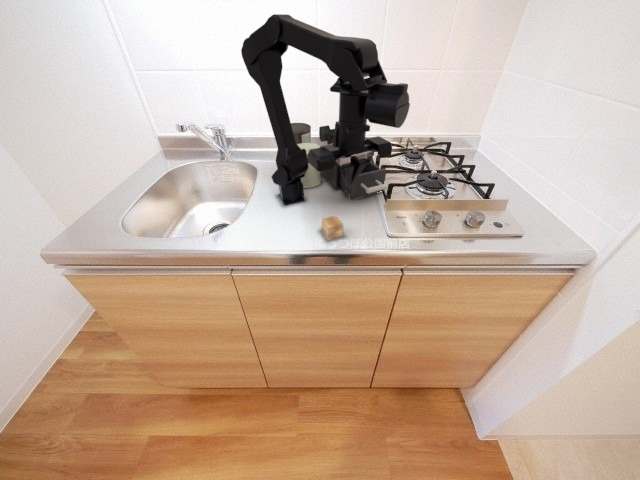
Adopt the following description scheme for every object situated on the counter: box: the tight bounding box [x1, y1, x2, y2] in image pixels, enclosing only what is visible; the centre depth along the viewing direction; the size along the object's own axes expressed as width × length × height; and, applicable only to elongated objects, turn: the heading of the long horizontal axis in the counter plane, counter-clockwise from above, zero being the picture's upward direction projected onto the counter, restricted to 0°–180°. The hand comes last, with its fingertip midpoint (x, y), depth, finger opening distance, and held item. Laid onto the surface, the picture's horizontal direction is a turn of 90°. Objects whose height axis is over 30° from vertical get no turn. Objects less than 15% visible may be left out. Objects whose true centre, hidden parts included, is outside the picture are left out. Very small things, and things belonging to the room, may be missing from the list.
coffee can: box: [291, 122, 312, 144], centre depth 91 cm, size 10×10×14 cm
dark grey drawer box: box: [319, 143, 373, 190], centre depth 85 cm, size 15×13×9 cm
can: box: [297, 142, 322, 189], centre depth 82 cm, size 9×9×12 cm
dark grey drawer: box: [338, 161, 388, 201], centre depth 77 cm, size 18×11×7 cm, turn 23°
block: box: [321, 214, 344, 241], centre depth 63 cm, size 4×4×4 cm
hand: (348, 187), depth 61 cm, fingers closed
